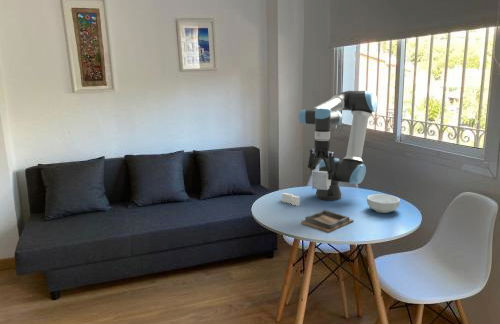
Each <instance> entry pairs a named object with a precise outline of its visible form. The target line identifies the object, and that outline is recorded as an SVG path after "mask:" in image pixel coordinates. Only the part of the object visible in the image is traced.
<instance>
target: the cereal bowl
mask: <svg viewBox="0 0 500 324" xmlns="http://www.w3.org/2000/svg"><path fill="white" fill-rule="evenodd" d="M366 204H367V206H368V207H369V208H370V209H372V210H374V211H375V212H376V213H381V214H389V213H391V212H394V211H396V210H398V209H399V206H400V204H401V200H400V198H399V197H397V196H396V195H395V196H394V195H391V194H382V193H377V194H376V193H375V194H374V193H373V194H369V195H367V197H366Z"/></svg>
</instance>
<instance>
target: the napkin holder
mask: <svg viewBox="0 0 500 324" xmlns="http://www.w3.org/2000/svg"><path fill="white" fill-rule="evenodd" d="M300 197H301V196H298V195H295V194H291V193H287V192H282V193H281V202H282V203H286V202H287V204H290V203H291V204H292V205H291V204H290V205H291V206H295V205H296V207H298V206H300V200H301V199H300Z"/></svg>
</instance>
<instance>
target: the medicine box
mask: <svg viewBox="0 0 500 324" xmlns="http://www.w3.org/2000/svg"><path fill="white" fill-rule="evenodd" d="M326 173H328V172H326V171H319V170H316V171H314V172H312V176H311V184H312V185H311V188H312V190H317V189H322V190H328V189H329V186H326Z"/></svg>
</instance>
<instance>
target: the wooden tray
mask: <svg viewBox="0 0 500 324" xmlns="http://www.w3.org/2000/svg"><path fill="white" fill-rule="evenodd" d="M352 223H354V219H352V218H350V216H347V215H343V214H339V213H338V212H337V213H336V212H333V211H329V210H325V209H323V210H322V211H318V212H316V213H313V214H309V215H307V216H305V218H304V220H302V221H300V224H302V225H305V226H308V227H311V228H313V229H316V230H320V231H323V232H324V233H325V232H326V233H329V234H330V233H331V232H335V231H336V230H338V229H340V228H342V227H344V226H348V225H349V224H352Z"/></svg>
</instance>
